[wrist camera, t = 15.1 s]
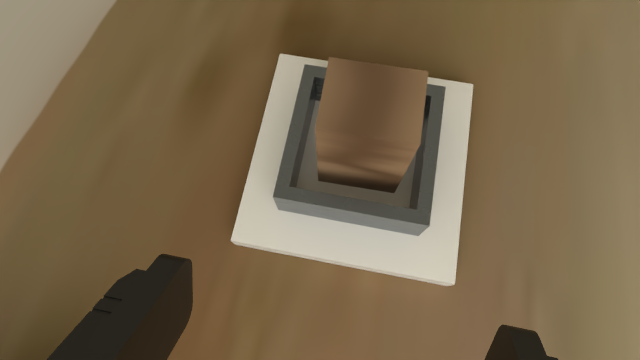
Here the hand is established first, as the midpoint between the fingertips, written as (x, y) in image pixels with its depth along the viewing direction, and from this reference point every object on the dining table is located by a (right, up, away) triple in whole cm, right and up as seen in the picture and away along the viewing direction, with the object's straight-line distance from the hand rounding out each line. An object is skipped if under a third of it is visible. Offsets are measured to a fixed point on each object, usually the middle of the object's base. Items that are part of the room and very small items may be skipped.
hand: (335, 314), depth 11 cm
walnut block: (+2, +5, +17) cm, 18 cm away
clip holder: (+2, +4, +19) cm, 19 cm away
